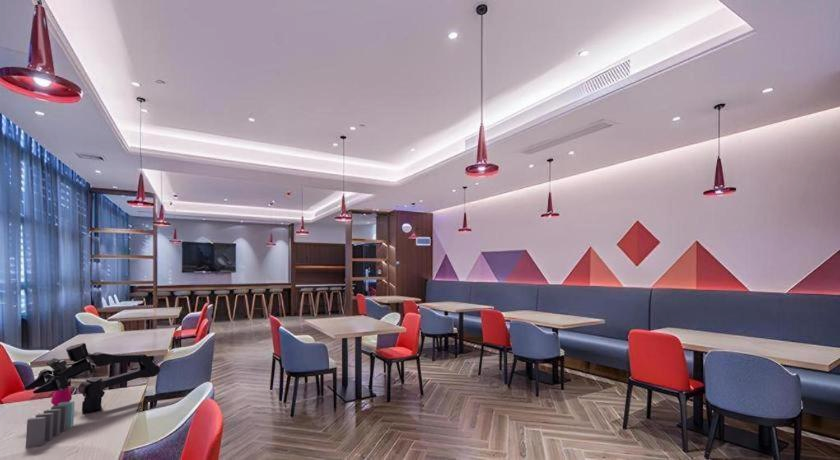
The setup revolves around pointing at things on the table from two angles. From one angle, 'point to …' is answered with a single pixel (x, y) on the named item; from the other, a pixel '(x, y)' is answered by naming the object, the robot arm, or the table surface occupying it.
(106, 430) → the table surface
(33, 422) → the domino
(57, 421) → the domino
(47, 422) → the domino
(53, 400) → the pepper mill
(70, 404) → the domino
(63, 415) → the domino
